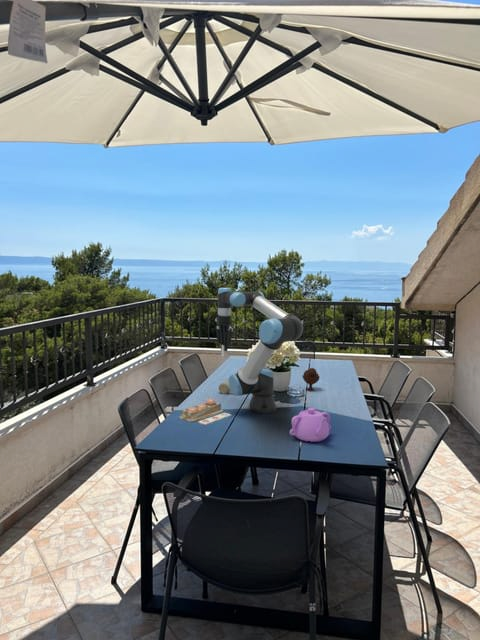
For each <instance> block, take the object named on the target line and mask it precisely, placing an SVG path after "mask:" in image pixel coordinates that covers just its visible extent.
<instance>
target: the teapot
mask: <svg viewBox="0 0 480 640" xmlns="http://www.w3.org/2000/svg"><path fill="white" fill-rule="evenodd" d="M324 415H326V417H325V416H324ZM330 420H331V416H330V414H329V413H328V412H326V411H322V412H321V411H318V410H316V408H314V407H308V408H307V409H305V410H301V411H300V412H299V413H298V415H297V414H296V415H294V416H293V417H291V427H292V428H291V429H290V430H289V434H290V435H291V436H295V438H296V439H298V440H301V441H304V442H308V441H310V443H311V442H312V443H313V442H321V441H324V440H325V439H327V438H328V436H329V435H330V430H331V429H332V426H331V424H329V423H330Z"/></svg>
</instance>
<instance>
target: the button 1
mask: <svg viewBox="0 0 480 640" xmlns="http://www.w3.org/2000/svg"><path fill="white" fill-rule="evenodd" d="M187 408H188V411H190V412H194V411H197V408H195V407H193V406H191V407H187Z"/></svg>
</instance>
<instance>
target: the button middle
mask: <svg viewBox="0 0 480 640" xmlns="http://www.w3.org/2000/svg"><path fill="white" fill-rule="evenodd" d="M196 405H197V408H200V409H203V408H206V405H204V404H203V403H200V404H196Z"/></svg>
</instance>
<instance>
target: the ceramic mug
mask: <svg viewBox="0 0 480 640" xmlns="http://www.w3.org/2000/svg"><path fill="white" fill-rule="evenodd" d="M218 392H219V393H220V394H223V395H226V394H231V395H234V394H233V393H232V392H231V390H230V388H229V379H225V380H224V381H222V382H221V383H219V385H218Z"/></svg>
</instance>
